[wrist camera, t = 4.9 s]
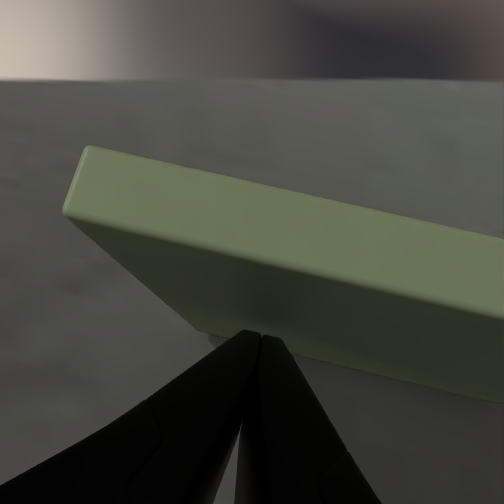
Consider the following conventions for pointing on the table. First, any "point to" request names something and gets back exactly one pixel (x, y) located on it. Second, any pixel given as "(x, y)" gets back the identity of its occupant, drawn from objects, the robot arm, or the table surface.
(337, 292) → the door
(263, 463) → the robot arm
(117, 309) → the table surface
